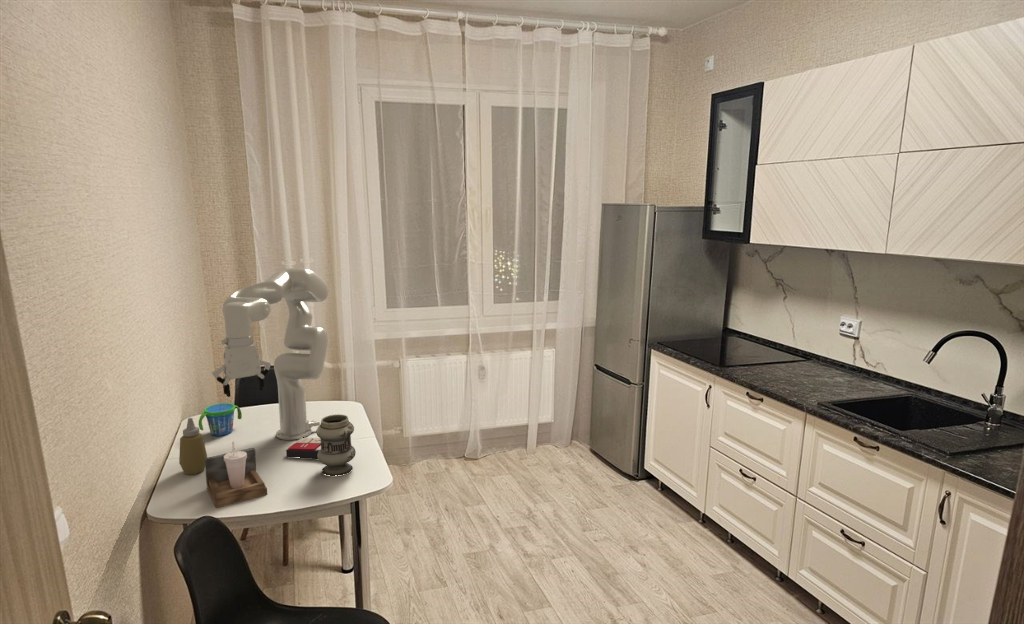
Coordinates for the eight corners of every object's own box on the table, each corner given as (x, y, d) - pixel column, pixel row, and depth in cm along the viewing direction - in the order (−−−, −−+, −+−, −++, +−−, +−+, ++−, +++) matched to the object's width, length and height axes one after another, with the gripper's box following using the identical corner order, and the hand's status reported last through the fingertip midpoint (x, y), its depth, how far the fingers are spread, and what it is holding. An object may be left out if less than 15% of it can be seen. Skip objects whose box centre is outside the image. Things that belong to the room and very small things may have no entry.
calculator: (300, 436, 211) (339, 437, 209) (302, 447, 212) (340, 448, 210) (285, 448, 200) (326, 449, 198) (286, 460, 201) (327, 461, 199)
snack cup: (205, 442, 213) (203, 415, 211) (194, 434, 220) (192, 409, 218) (248, 431, 224) (246, 405, 222) (236, 424, 231) (235, 399, 229)
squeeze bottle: (187, 466, 193) (182, 414, 190) (212, 465, 194) (208, 414, 191) (175, 477, 185) (170, 423, 182) (201, 476, 186) (197, 422, 183)
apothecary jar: (317, 465, 195) (314, 414, 192) (354, 460, 199) (352, 410, 196) (319, 480, 184) (316, 426, 181) (358, 475, 188) (356, 422, 185)
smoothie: (220, 488, 173) (217, 444, 171) (235, 479, 180) (232, 436, 177) (239, 491, 172) (236, 446, 170) (253, 481, 178) (250, 438, 176)
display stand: (255, 477, 186) (253, 447, 184) (267, 494, 175) (265, 462, 173) (206, 489, 177) (204, 458, 176) (216, 507, 166) (213, 475, 165)
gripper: (212, 348, 175) (217, 401, 178) (271, 339, 185) (275, 390, 189) (207, 342, 181) (212, 395, 184) (265, 334, 191) (269, 384, 195)
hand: (244, 392), depth 187 cm, fingers open, 9 cm apart
